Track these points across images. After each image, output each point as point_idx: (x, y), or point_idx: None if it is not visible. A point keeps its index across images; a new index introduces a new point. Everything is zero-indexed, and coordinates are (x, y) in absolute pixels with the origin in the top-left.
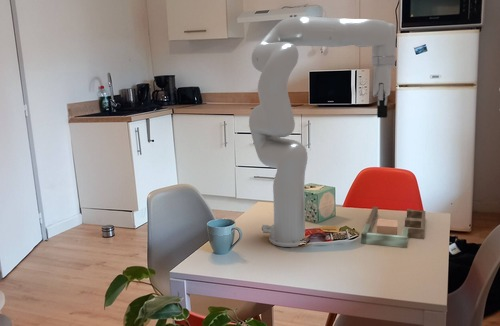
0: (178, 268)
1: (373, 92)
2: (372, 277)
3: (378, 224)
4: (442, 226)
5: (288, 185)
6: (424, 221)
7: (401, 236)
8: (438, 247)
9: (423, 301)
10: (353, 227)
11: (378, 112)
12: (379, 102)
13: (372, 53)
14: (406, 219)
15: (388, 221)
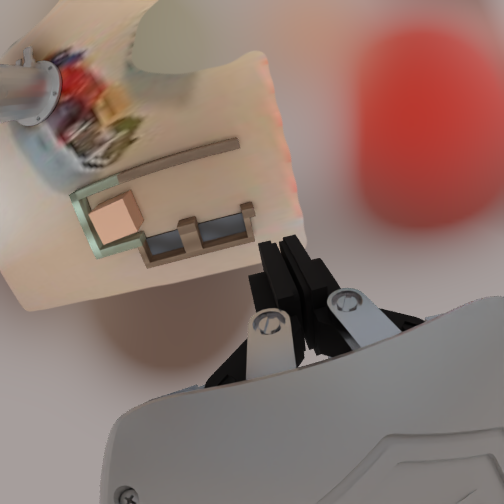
0: None
1: (105, 456)
2: (15, 249)
3: (94, 213)
4: (230, 265)
5: None
6: (188, 257)
7: (96, 251)
8: (133, 283)
9: (18, 300)
10: (140, 136)
11: (266, 270)
12: (224, 364)
13: None
14: (182, 228)
15: (119, 221)
